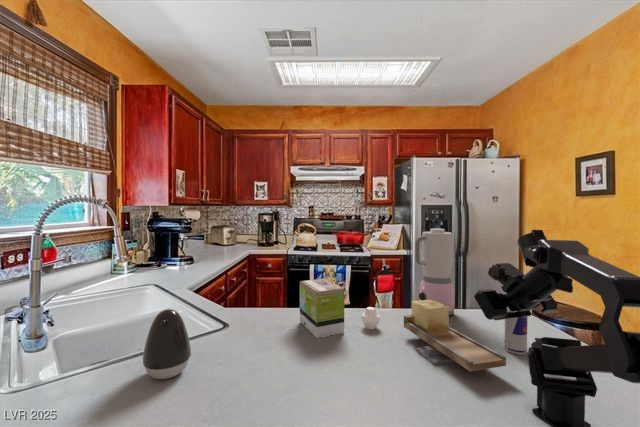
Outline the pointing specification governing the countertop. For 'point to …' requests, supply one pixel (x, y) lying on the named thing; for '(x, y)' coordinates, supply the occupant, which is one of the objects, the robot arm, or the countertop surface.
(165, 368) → the dark grey egg shape
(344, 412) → the countertop surface
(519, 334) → the energy drink
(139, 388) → the countertop surface
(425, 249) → the blender
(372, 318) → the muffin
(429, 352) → the pivot stand
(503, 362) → the seesaw beam
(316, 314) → the tea box
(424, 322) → the tan boxy block
